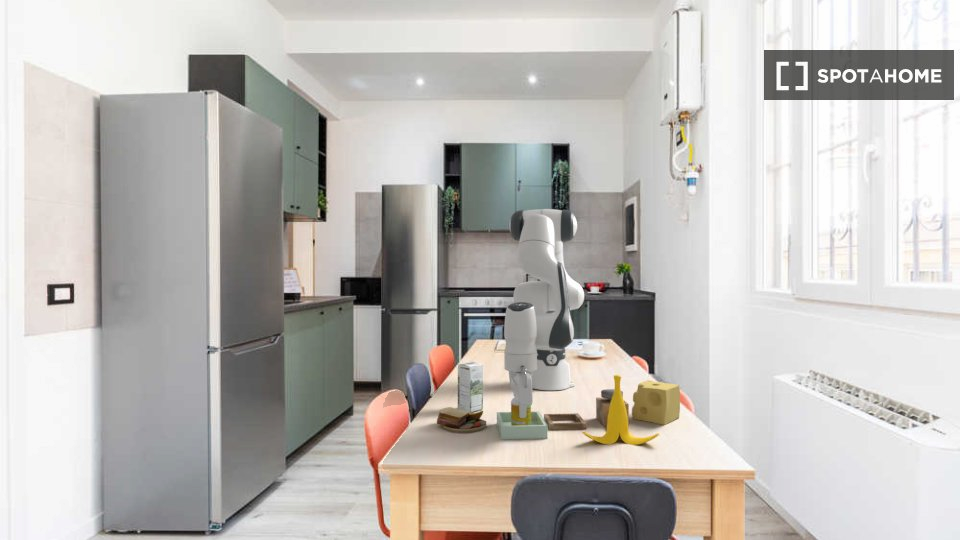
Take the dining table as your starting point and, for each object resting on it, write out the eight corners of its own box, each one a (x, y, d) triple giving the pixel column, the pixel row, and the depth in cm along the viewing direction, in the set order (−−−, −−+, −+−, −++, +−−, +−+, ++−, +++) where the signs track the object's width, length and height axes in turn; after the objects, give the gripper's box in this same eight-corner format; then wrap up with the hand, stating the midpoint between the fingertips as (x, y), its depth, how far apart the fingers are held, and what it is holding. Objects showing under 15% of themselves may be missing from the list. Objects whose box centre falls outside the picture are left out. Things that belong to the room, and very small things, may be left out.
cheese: (631, 419, 158) (631, 384, 158) (648, 411, 166) (648, 379, 165) (666, 426, 151) (665, 390, 150) (681, 418, 158) (681, 383, 158)
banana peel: (580, 445, 135) (580, 378, 135) (610, 426, 151) (609, 366, 151) (646, 458, 126) (646, 386, 126) (670, 437, 141) (670, 373, 141)
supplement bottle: (529, 430, 144) (529, 393, 144) (509, 429, 145) (509, 392, 145) (532, 424, 149) (531, 389, 149) (512, 423, 150) (512, 388, 150)
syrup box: (470, 406, 172) (470, 361, 172) (483, 410, 168) (483, 363, 168) (457, 410, 168) (456, 363, 168) (470, 413, 164) (470, 366, 164)
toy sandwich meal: (472, 437, 143) (472, 419, 143) (429, 430, 149) (429, 412, 149) (494, 424, 154) (493, 407, 154) (453, 418, 160) (453, 402, 160)
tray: (496, 423, 154) (496, 412, 154) (538, 422, 154) (538, 411, 154) (501, 439, 140) (501, 426, 140) (547, 438, 140) (547, 425, 140)
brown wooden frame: (544, 419, 157) (544, 414, 157) (578, 418, 158) (578, 413, 158) (550, 430, 147) (550, 424, 147) (586, 429, 148) (586, 423, 148)
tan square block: (596, 418, 159) (596, 388, 159) (619, 417, 159) (619, 388, 159) (603, 426, 151) (603, 395, 151) (628, 425, 151) (628, 394, 151)
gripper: (538, 370, 137) (538, 424, 137) (527, 356, 157) (527, 403, 157) (513, 370, 136) (513, 425, 137) (505, 356, 157) (505, 404, 157)
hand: (521, 413), depth 147 cm, fingers closed on supplement bottle, 5 cm apart
